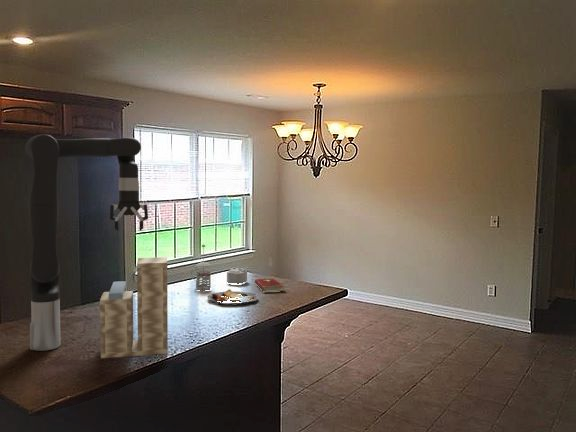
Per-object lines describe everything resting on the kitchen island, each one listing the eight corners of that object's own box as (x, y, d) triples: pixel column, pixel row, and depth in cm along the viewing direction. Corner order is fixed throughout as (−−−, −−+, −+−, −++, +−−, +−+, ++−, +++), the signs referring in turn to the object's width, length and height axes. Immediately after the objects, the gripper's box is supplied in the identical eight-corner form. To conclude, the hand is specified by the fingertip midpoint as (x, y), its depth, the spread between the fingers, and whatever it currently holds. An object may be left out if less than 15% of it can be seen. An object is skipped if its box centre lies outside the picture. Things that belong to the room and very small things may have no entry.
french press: (210, 292, 270) (211, 245, 268) (189, 291, 270) (189, 245, 268) (213, 288, 280) (214, 243, 278) (193, 287, 280) (193, 243, 278)
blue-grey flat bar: (108, 299, 169) (108, 293, 169) (113, 286, 189) (113, 281, 188) (122, 298, 170) (122, 293, 170) (125, 286, 190) (125, 281, 190)
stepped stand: (100, 358, 170) (99, 264, 168) (104, 346, 181) (103, 258, 179) (167, 353, 175) (167, 262, 173) (167, 342, 187) (166, 257, 185)
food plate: (198, 299, 252) (198, 292, 252) (233, 292, 269) (233, 286, 269) (231, 310, 235) (231, 303, 235) (266, 302, 253) (266, 295, 252)
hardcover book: (262, 294, 269) (262, 286, 269) (254, 285, 289) (254, 278, 289) (284, 293, 273) (284, 285, 272) (274, 284, 293) (274, 277, 292)
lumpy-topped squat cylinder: (224, 284, 290) (224, 269, 289) (235, 280, 302) (235, 266, 301) (240, 286, 286) (240, 271, 285) (250, 282, 298) (251, 267, 297)
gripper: (108, 189, 191) (109, 231, 192) (147, 189, 195) (147, 231, 196) (110, 189, 198) (111, 229, 200) (148, 189, 202) (148, 229, 203)
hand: (129, 230), depth 198 cm, fingers open, 8 cm apart
